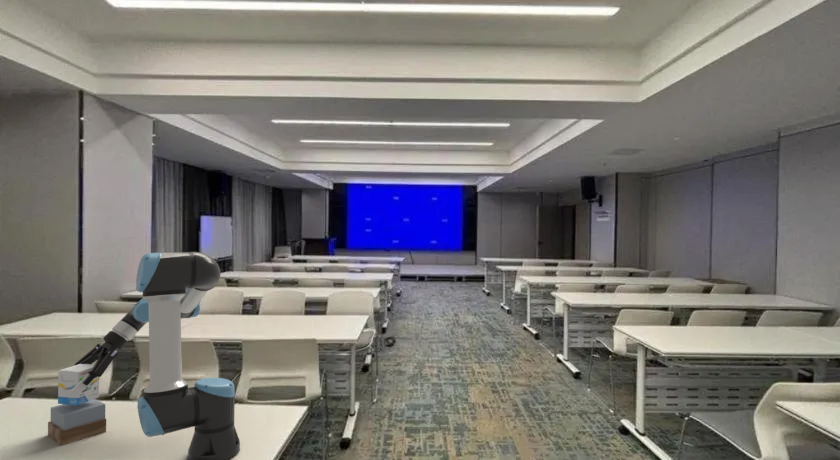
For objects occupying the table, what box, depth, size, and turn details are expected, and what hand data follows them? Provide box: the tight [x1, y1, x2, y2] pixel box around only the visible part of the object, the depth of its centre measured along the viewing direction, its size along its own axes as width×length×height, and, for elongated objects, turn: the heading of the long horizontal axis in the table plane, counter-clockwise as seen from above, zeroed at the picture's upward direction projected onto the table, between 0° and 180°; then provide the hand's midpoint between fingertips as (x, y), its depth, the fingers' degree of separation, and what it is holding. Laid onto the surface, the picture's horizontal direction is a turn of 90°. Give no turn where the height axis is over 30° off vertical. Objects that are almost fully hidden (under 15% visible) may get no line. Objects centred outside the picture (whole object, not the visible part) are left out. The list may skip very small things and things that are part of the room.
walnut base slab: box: [47, 417, 107, 447], centre depth 158 cm, size 13×13×5 cm
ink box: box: [57, 363, 100, 405], centre depth 158 cm, size 8×8×12 cm
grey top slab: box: [50, 398, 106, 430], centre depth 158 cm, size 12×12×5 cm
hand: (68, 389), depth 156 cm, fingers closed on ink box, 11 cm apart
